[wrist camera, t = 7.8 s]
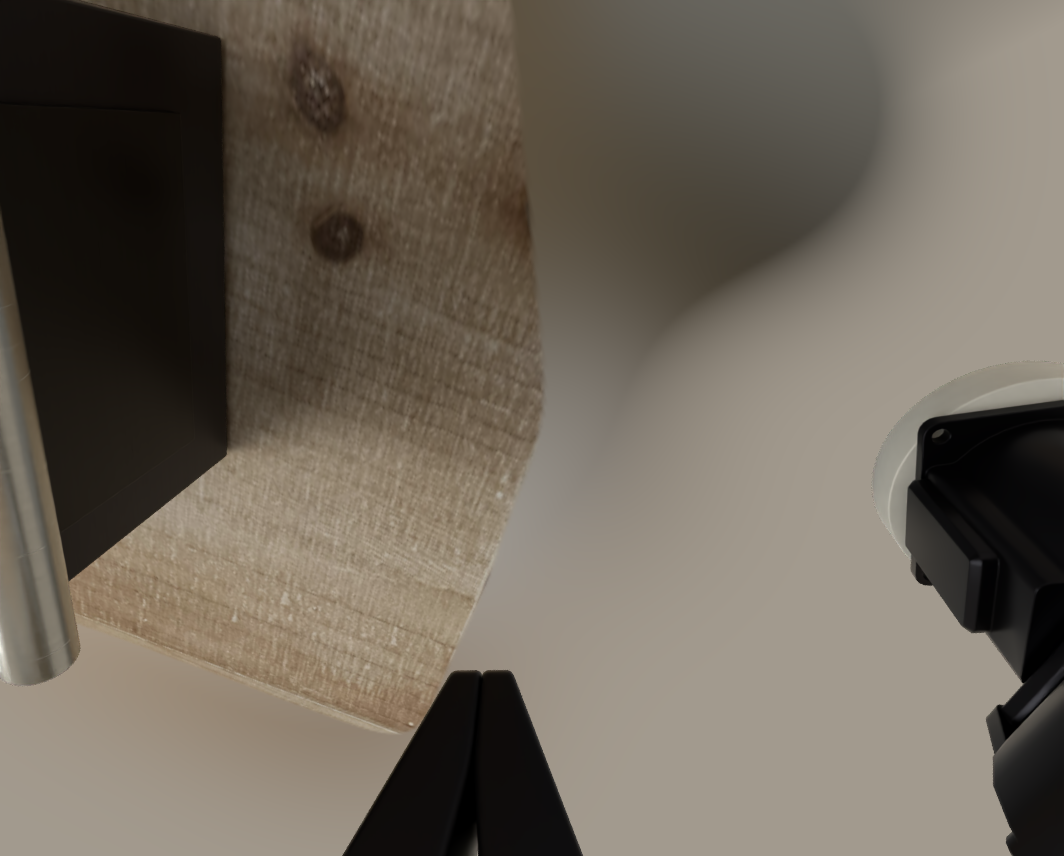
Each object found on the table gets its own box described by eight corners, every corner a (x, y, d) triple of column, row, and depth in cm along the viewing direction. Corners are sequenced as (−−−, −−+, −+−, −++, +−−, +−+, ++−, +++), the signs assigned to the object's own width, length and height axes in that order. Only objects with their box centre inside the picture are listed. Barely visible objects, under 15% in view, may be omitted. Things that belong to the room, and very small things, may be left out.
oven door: (330, 66, 17) (-301, -87, 5) (306, 477, 23) (-3, 806, 12) (167, 23, 17) (-797, -218, 5) (188, 444, 23) (-230, 739, 12)
